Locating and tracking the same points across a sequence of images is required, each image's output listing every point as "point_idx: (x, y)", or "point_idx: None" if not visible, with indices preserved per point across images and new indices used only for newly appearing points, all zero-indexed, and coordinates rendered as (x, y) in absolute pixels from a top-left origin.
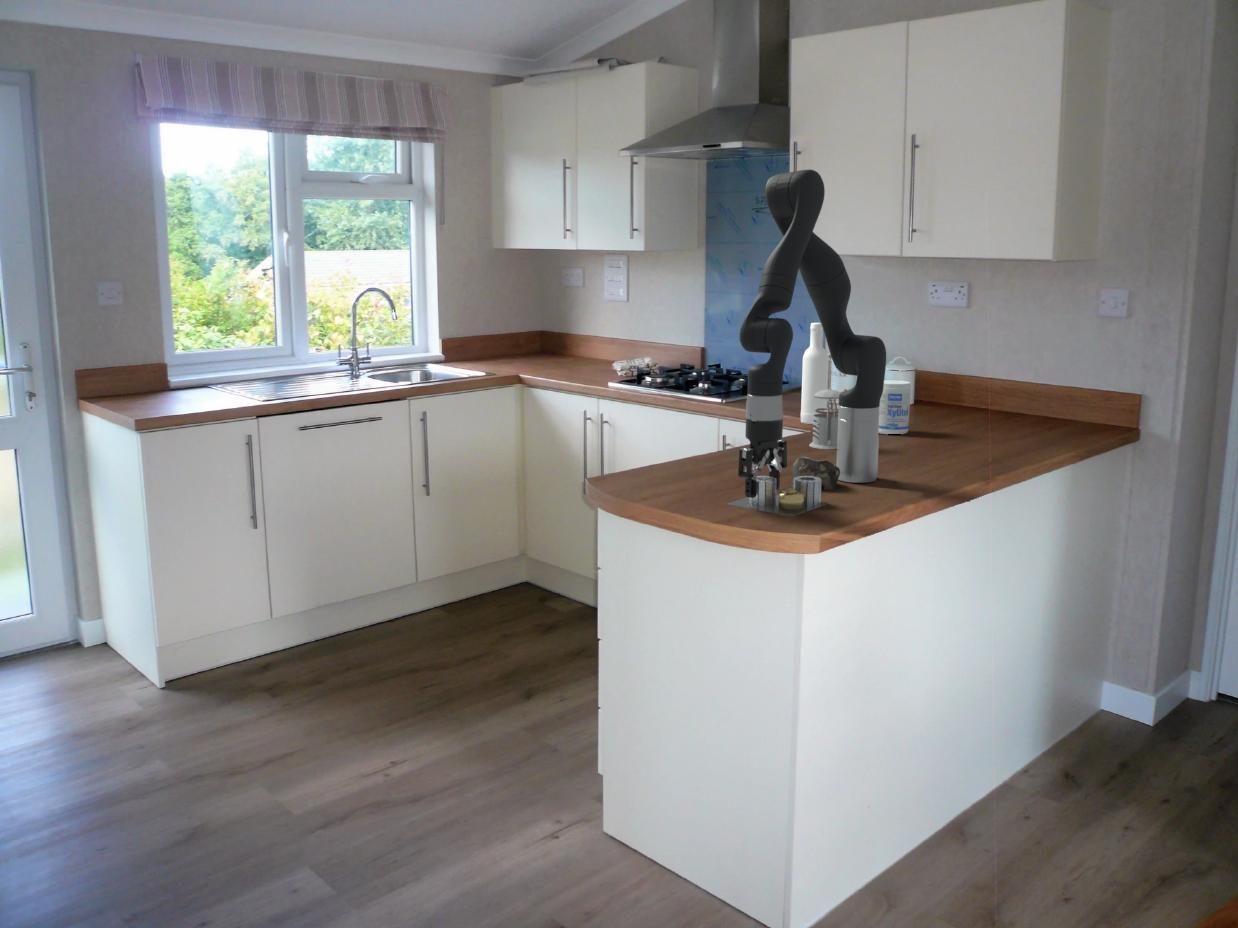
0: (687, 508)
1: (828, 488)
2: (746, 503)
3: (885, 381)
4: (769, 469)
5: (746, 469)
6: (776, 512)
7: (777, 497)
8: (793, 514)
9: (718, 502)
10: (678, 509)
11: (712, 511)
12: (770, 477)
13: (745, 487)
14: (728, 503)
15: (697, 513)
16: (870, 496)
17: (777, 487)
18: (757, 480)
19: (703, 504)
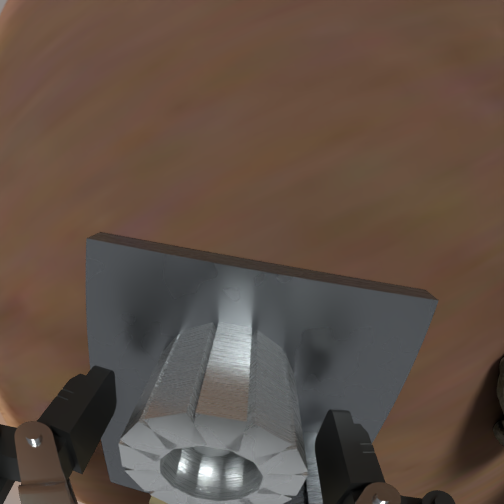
0: (46, 76)
1: (501, 439)
2: (154, 328)
3: None
4: (360, 495)
5: (21, 473)
6: (115, 450)
7: (353, 396)
8: (133, 484)
9: (216, 123)
10: (23, 62)
11: (49, 195)
12: (272, 493)
13: (56, 397)
14: (101, 247)
15: (4, 162)
16: (478, 481)
17: (316, 454)
18: (140, 462)
19: (136, 82)
